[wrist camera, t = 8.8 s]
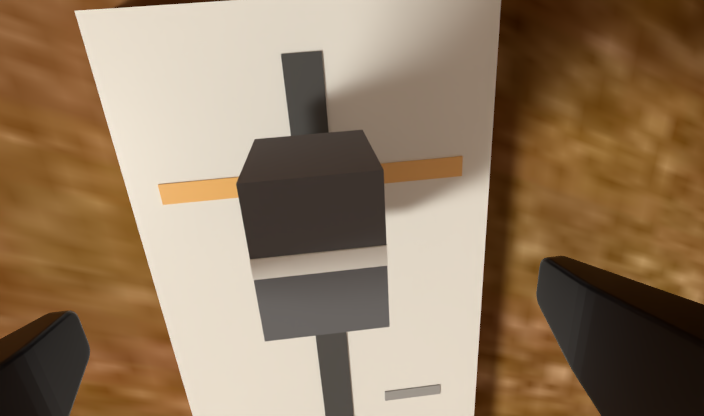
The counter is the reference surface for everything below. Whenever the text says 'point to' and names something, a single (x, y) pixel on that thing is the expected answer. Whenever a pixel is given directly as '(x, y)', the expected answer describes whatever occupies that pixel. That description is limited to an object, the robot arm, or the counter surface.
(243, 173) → the fader knob
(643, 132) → the counter surface
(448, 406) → the fader panel
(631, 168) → the counter surface
